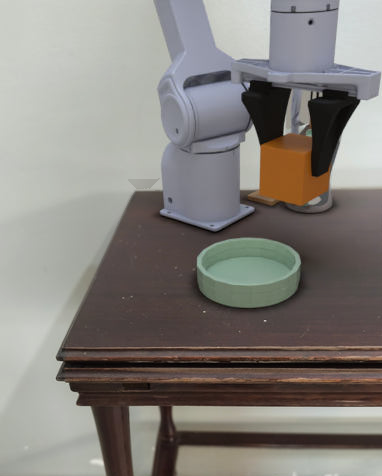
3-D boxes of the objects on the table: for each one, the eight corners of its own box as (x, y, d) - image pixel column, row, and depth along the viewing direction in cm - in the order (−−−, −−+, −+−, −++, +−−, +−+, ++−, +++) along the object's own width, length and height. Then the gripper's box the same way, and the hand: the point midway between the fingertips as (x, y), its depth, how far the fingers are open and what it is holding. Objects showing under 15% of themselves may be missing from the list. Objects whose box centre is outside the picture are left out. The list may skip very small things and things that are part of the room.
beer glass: (330, 193, 77) (342, 71, 68) (340, 213, 71) (354, 84, 63) (278, 195, 77) (283, 74, 69) (284, 215, 71) (290, 86, 63)
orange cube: (258, 195, 58) (260, 144, 55) (287, 180, 61) (289, 132, 58) (301, 206, 55) (304, 154, 52) (328, 190, 58) (333, 140, 55)
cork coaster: (246, 199, 76) (247, 195, 76) (264, 190, 79) (264, 186, 78) (271, 206, 74) (271, 201, 74) (288, 196, 77) (289, 192, 76)
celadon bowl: (176, 286, 58) (175, 264, 57) (239, 250, 64) (239, 229, 63) (258, 320, 52) (259, 296, 51) (318, 276, 58) (320, 254, 57)
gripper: (208, 12, 50) (212, 165, 58) (358, 18, 42) (339, 196, 50) (256, 3, 54) (254, 148, 62) (401, 7, 46) (378, 173, 54)
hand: (295, 168), depth 56 cm, fingers closed on orange cube, 5 cm apart
